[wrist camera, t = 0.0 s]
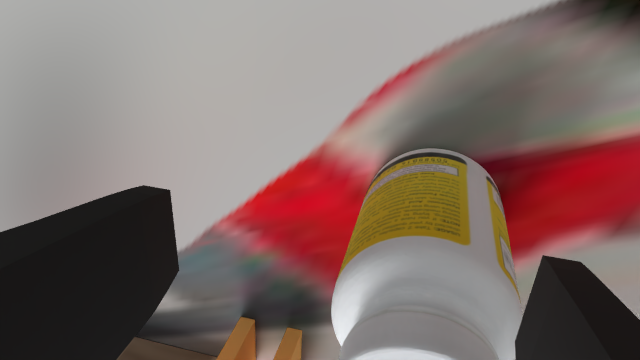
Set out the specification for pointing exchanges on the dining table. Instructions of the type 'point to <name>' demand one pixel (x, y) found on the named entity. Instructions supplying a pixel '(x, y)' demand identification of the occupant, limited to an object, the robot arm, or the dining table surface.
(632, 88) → the dining table surface
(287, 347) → the orange u-shaped bracket
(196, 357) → the rectangular frame
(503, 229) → the supplement bottle
